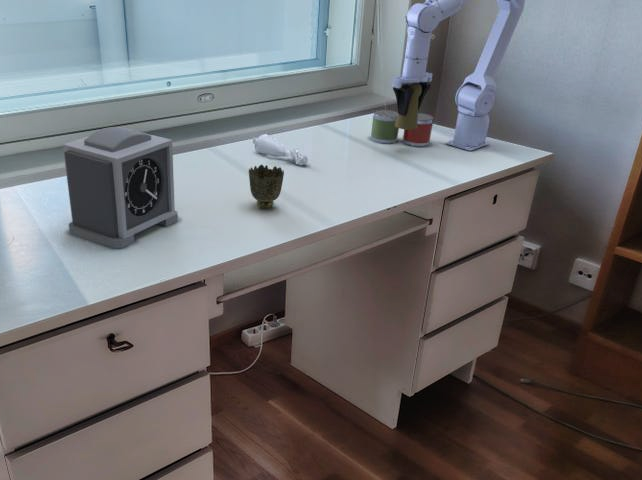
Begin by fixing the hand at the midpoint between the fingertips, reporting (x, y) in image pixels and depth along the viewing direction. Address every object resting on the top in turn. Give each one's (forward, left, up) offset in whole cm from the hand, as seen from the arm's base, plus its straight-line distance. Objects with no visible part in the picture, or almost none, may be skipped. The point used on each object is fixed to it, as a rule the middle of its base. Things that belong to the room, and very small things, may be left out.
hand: (407, 113), depth 179 cm
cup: (+57, +6, -10) cm, 59 cm away
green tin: (-5, -10, -10) cm, 15 cm away
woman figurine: (+30, -16, -10) cm, 36 cm away
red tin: (-10, -3, -10) cm, 15 cm away
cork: (0, 0, -4) cm, 4 cm away
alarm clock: (+86, -4, -10) cm, 87 cm away
